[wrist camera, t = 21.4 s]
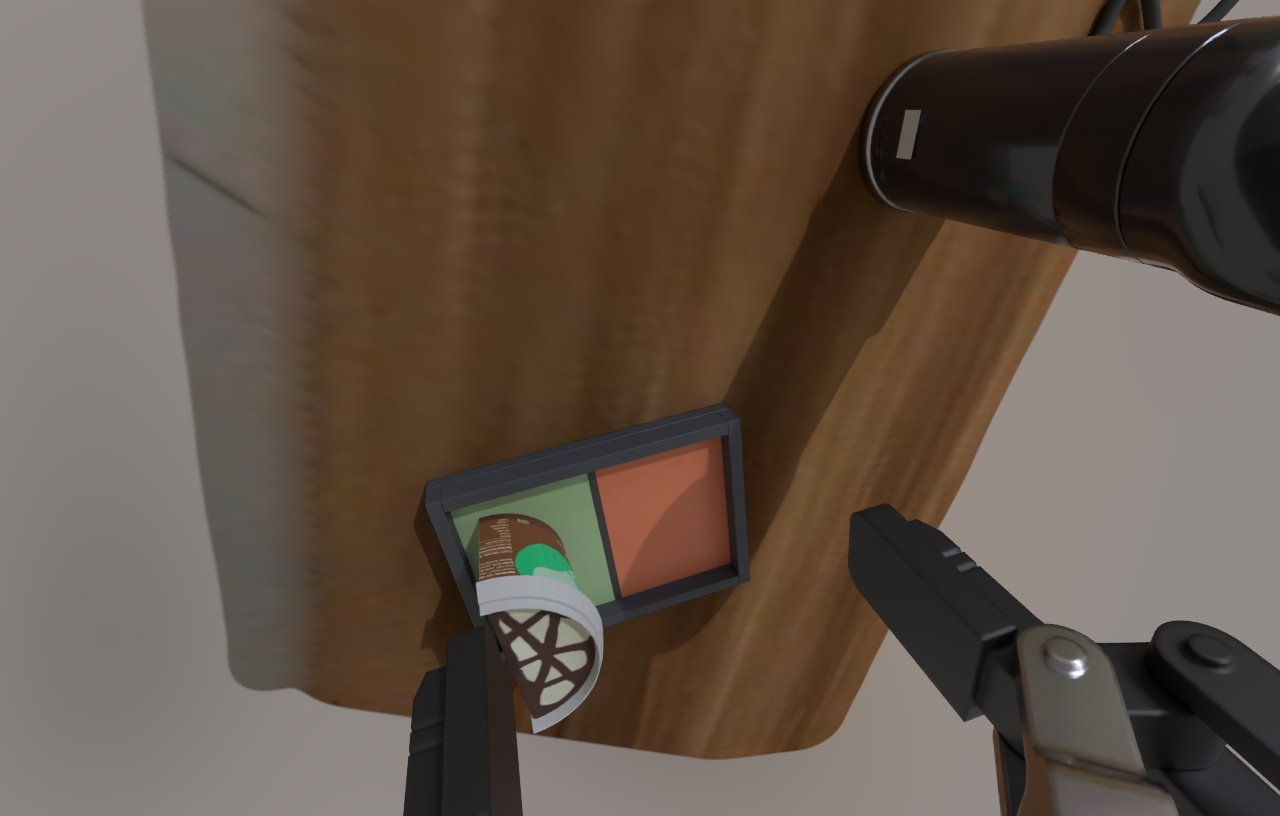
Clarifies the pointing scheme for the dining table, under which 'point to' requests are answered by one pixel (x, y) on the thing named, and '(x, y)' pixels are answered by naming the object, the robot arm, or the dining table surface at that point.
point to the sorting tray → (616, 512)
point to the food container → (538, 615)
